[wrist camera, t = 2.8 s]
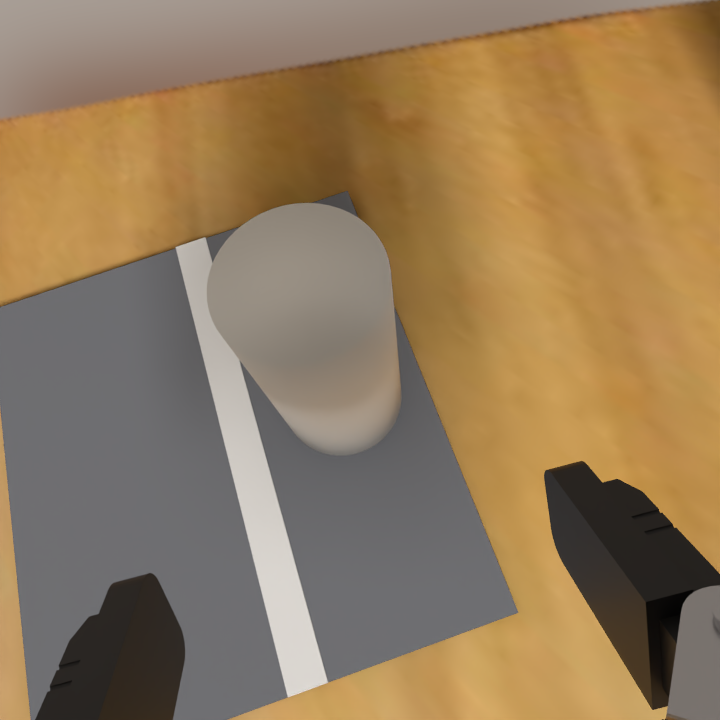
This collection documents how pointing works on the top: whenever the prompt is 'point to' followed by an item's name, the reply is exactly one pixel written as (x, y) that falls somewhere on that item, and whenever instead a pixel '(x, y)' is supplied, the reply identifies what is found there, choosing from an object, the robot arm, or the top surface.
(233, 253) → the white cylinder
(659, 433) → the top surface
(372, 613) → the gray striped mat
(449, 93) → the top surface
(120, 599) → the robot arm
